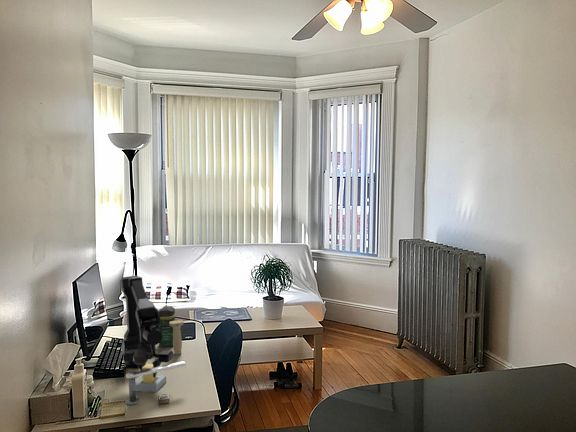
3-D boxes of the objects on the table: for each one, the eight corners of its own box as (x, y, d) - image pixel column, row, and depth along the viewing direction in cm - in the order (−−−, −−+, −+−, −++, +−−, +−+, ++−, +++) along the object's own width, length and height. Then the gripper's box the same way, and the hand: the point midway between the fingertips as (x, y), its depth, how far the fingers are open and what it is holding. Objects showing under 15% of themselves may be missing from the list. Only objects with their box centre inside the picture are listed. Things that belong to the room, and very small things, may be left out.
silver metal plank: (127, 379, 175) (127, 377, 175) (124, 376, 178) (124, 373, 178) (186, 366, 186) (186, 363, 186) (182, 362, 190) (182, 360, 190)
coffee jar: (174, 347, 237) (172, 309, 235) (157, 348, 236) (155, 310, 235) (177, 340, 246) (176, 304, 245) (161, 341, 246) (160, 305, 244)
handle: (185, 354, 227) (184, 322, 225) (171, 356, 224) (170, 324, 223) (184, 350, 231) (182, 319, 230) (170, 352, 229) (168, 321, 228)
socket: (133, 390, 188) (132, 384, 188) (144, 380, 197) (143, 374, 197) (156, 391, 186) (155, 385, 186) (166, 381, 196) (165, 375, 195)
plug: (142, 387, 190) (141, 367, 190) (147, 383, 194) (146, 363, 194) (152, 388, 189) (151, 368, 189) (157, 383, 193) (156, 364, 193)
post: (123, 404, 176) (121, 379, 175) (129, 398, 181) (128, 374, 180) (136, 405, 175) (135, 380, 174) (142, 399, 180) (141, 374, 179)
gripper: (114, 344, 184) (116, 384, 185) (161, 345, 181) (163, 386, 182) (129, 334, 195) (131, 373, 196) (173, 336, 192) (175, 374, 193)
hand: (149, 377), depth 192 cm, fingers closed on plug, 4 cm apart
